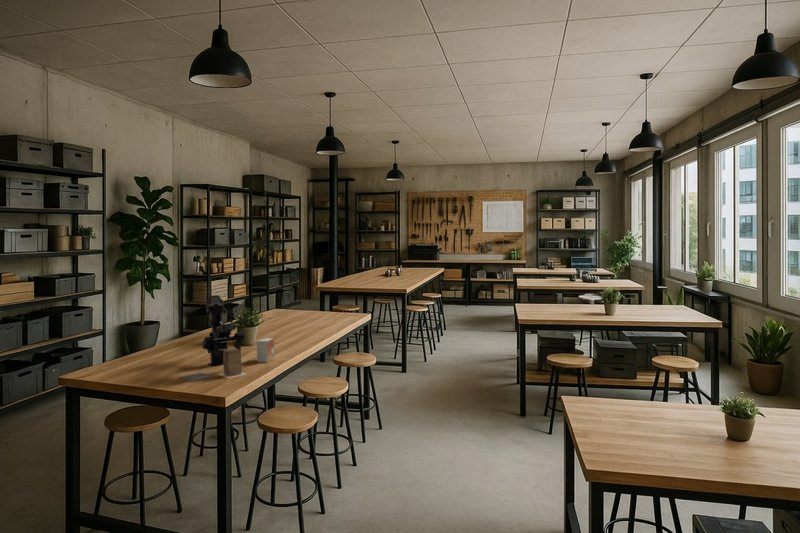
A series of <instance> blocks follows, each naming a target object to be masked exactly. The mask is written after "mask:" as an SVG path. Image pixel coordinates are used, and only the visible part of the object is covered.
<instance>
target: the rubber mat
mask: <svg viewBox="0 0 800 533" xmlns="http://www.w3.org/2000/svg"><path fill="white" fill-rule="evenodd" d="M212 377H214V376H213V375H212V374H207V373H203V372H195V373H191V374H187V375H186V374H185V375H182V376H179V377H178V379H180V380H183V381H189V382H191V383H193V382H197V381H201V380H204V379H209V378H212Z"/></svg>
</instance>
